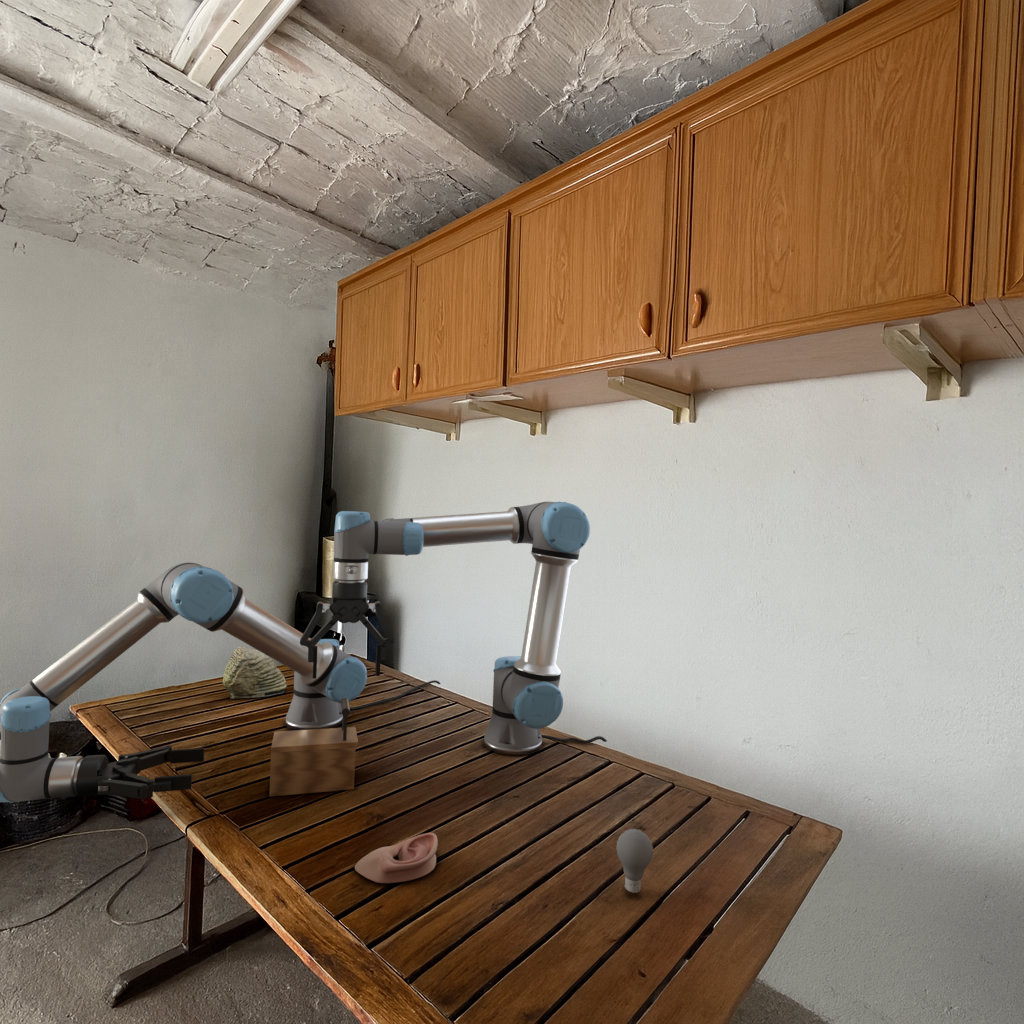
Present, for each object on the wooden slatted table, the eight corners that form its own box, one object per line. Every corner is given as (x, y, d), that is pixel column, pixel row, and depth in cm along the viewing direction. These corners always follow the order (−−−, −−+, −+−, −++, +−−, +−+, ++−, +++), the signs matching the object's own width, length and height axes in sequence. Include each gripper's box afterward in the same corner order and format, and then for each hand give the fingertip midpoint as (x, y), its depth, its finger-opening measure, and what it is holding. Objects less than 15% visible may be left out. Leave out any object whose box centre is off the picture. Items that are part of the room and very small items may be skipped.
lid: (355, 732, 147) (357, 696, 146) (357, 747, 138) (359, 709, 138) (274, 736, 141) (275, 699, 141) (271, 753, 133) (272, 713, 132)
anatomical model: (347, 854, 106) (375, 820, 117) (346, 877, 106) (374, 841, 117) (422, 866, 103) (444, 831, 114) (421, 891, 103) (443, 853, 114)
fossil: (218, 695, 195) (220, 647, 195) (278, 685, 208) (279, 640, 207) (228, 703, 189) (230, 653, 188) (289, 692, 201) (290, 645, 201)
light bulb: (610, 879, 108) (613, 822, 108) (644, 879, 109) (647, 822, 109) (619, 902, 102) (622, 840, 102) (655, 901, 103) (658, 840, 103)
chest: (351, 771, 147) (353, 732, 146) (353, 789, 138) (355, 747, 138) (272, 777, 142) (274, 737, 141) (269, 796, 133) (271, 753, 133)
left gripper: (101, 768, 139) (207, 760, 145) (55, 826, 115) (184, 814, 121) (102, 734, 139) (208, 728, 145) (56, 785, 115) (185, 775, 121)
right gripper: (290, 582, 133) (286, 682, 134) (408, 583, 141) (404, 678, 141) (291, 578, 141) (288, 673, 141) (404, 578, 148) (400, 669, 148)
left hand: (198, 767), depth 133 cm, fingers open, 13 cm apart
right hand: (346, 675), depth 141 cm, fingers open, 13 cm apart
